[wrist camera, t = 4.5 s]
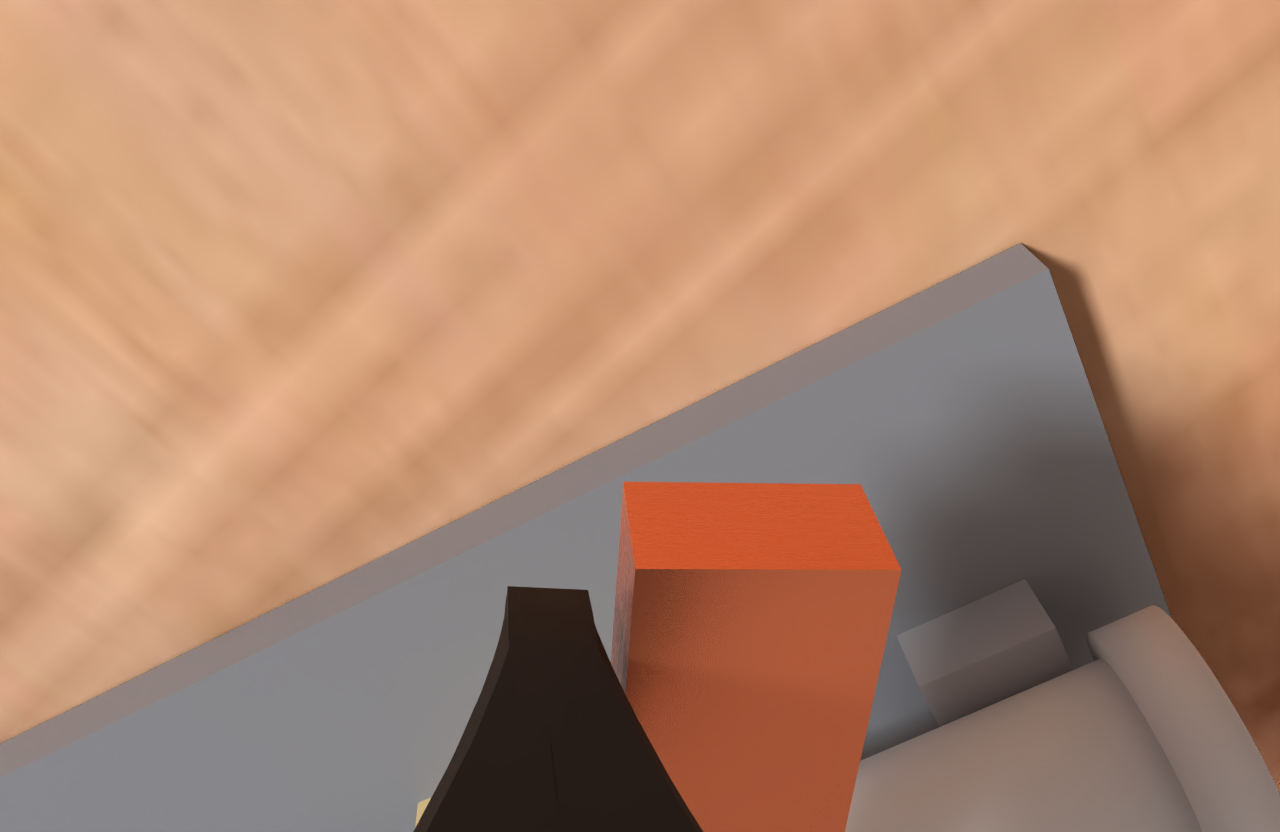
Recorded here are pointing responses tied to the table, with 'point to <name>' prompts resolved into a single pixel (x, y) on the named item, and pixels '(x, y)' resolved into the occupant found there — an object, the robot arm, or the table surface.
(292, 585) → the table surface
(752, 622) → the valve lever
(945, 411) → the valve board
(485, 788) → the robot arm
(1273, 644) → the table surface
